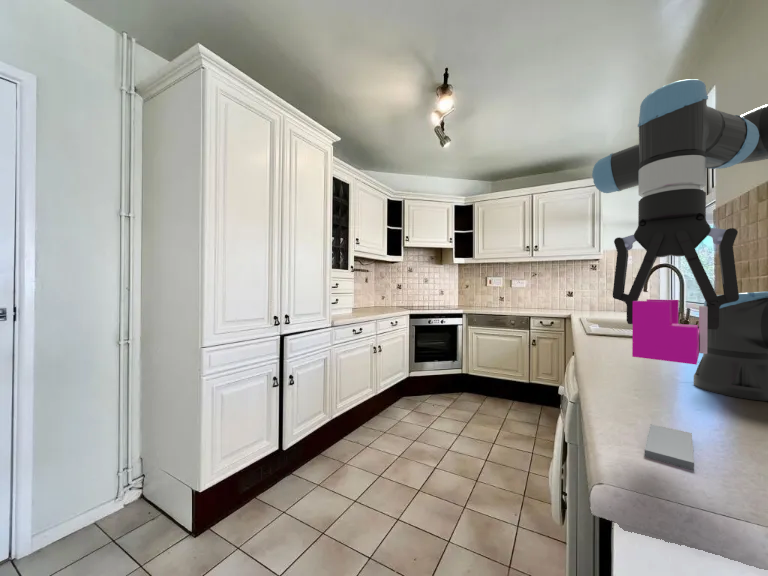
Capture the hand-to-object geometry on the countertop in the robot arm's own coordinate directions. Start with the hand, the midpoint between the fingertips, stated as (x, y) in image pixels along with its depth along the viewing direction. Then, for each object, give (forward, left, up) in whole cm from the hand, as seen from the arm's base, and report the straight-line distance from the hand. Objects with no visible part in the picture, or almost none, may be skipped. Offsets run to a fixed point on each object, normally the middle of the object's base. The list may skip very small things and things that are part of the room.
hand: (669, 348), depth 48 cm
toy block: (+1, +1, -1) cm, 2 cm away
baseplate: (0, 0, -15) cm, 15 cm away
